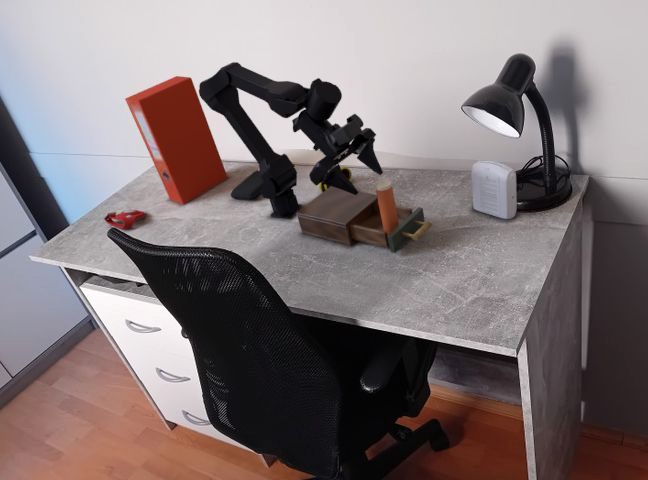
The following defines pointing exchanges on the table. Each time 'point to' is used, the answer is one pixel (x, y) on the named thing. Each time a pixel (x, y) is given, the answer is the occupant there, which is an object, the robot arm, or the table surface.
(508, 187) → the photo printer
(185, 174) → the file binder
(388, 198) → the tube
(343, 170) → the opera glasses
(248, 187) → the carrying case
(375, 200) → the organiser
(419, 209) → the drawer
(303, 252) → the table surface
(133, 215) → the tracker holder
